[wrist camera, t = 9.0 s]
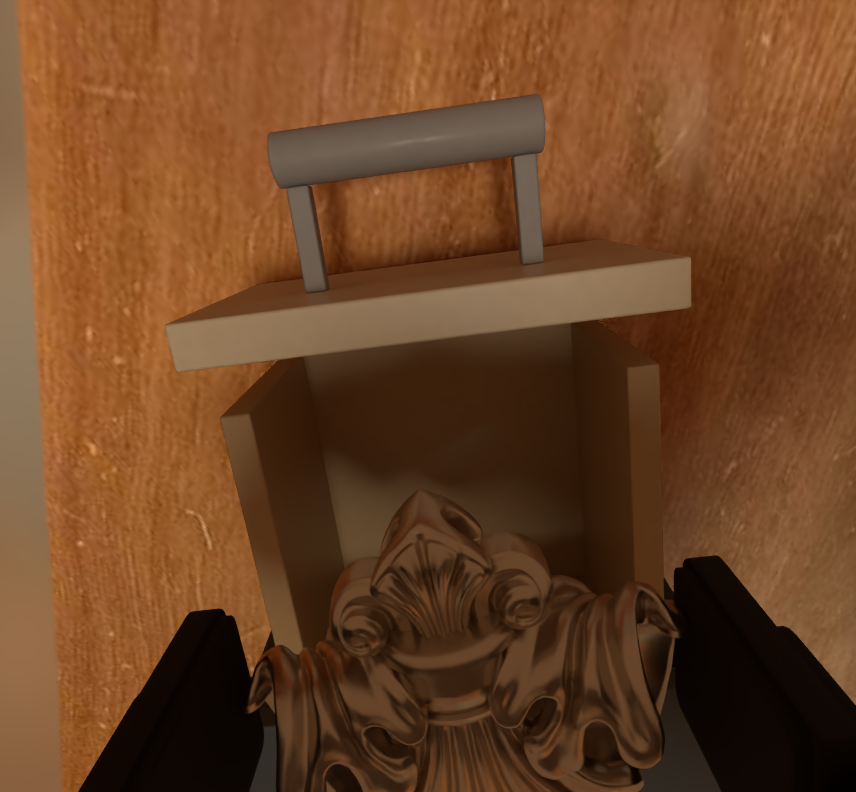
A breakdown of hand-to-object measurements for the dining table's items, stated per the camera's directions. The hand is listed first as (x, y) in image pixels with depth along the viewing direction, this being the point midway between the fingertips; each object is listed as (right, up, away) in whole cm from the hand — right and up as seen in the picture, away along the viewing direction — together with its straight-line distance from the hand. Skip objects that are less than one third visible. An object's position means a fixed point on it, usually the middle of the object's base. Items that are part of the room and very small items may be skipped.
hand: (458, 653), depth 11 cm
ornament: (0, 0, +1) cm, 1 cm away
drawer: (0, +5, +12) cm, 13 cm away
